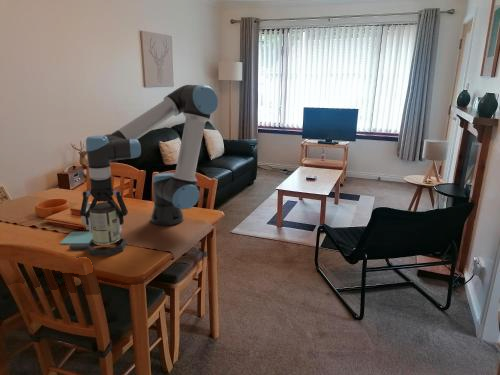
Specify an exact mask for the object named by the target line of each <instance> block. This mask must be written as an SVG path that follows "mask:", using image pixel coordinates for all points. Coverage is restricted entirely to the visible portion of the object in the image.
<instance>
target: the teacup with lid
mask: <svg viewBox="0 0 500 375" xmlns="http://www.w3.org/2000/svg"><path fill="white" fill-rule="evenodd" d="M91 203H92V201H90V202H89V201H88V203H87V208H86V212H87V211H88V209H89V207H90V205H91ZM80 211H81V208H80V209H79V212H80ZM80 221H81V225H82V224H84V225H85V226H86V230H85V231H90V230H89V225H87V224H86V218H85V216H80Z"/></svg>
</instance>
